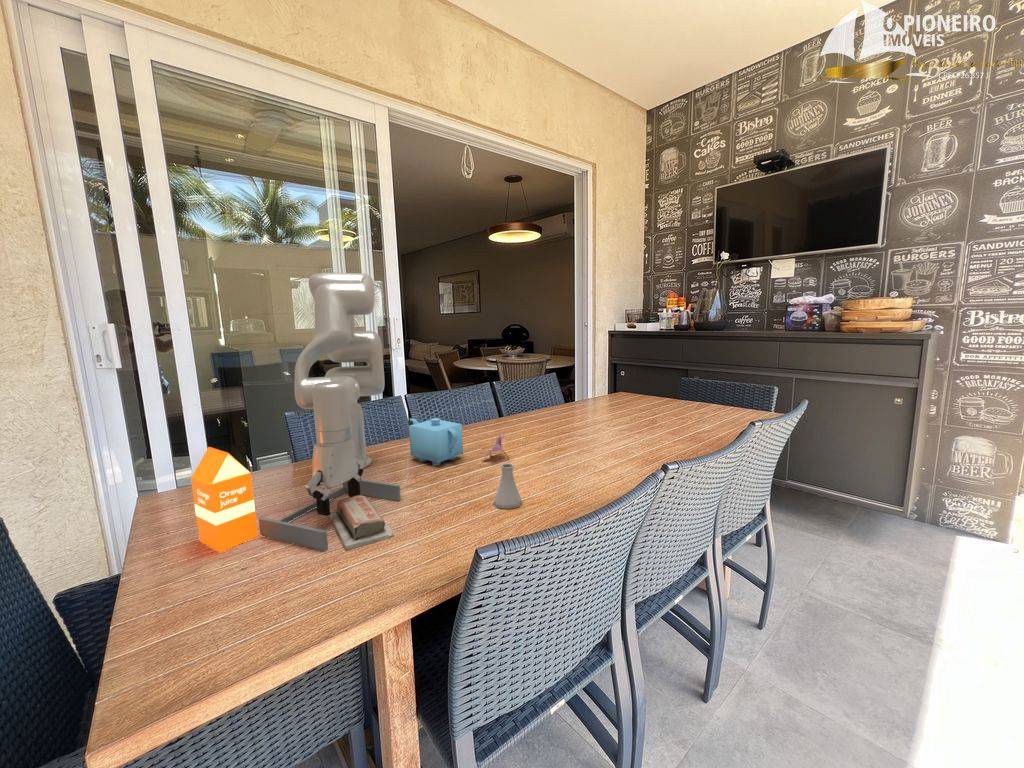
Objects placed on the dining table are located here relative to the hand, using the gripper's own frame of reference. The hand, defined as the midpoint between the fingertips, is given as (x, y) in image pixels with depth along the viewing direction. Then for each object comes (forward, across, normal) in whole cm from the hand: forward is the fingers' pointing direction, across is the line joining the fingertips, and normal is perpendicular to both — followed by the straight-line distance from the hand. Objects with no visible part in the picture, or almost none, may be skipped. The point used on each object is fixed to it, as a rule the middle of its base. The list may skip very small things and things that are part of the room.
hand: (340, 505), depth 100 cm
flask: (+3, -20, +34) cm, 40 cm away
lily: (+3, -50, +18) cm, 54 cm away
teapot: (+3, -44, -2) cm, 44 cm away
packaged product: (+4, +2, +7) cm, 8 cm away
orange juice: (+3, +16, -15) cm, 23 cm away
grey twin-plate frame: (+3, 0, -2) cm, 3 cm away
